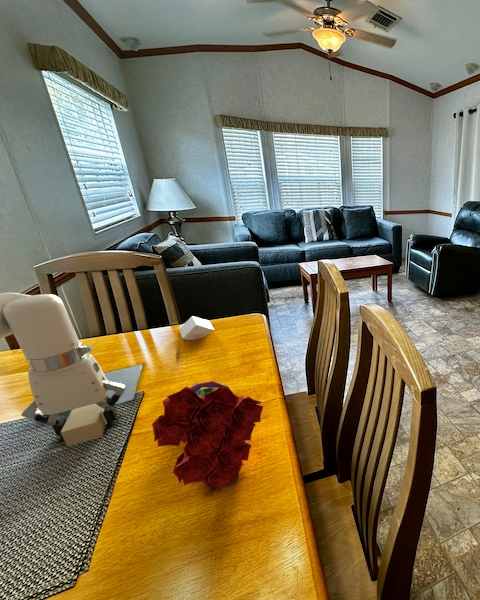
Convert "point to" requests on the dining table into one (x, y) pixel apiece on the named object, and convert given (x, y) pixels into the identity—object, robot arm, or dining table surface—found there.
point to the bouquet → (208, 432)
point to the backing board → (121, 376)
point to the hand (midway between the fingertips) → (90, 428)
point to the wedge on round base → (195, 328)
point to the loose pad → (84, 424)
